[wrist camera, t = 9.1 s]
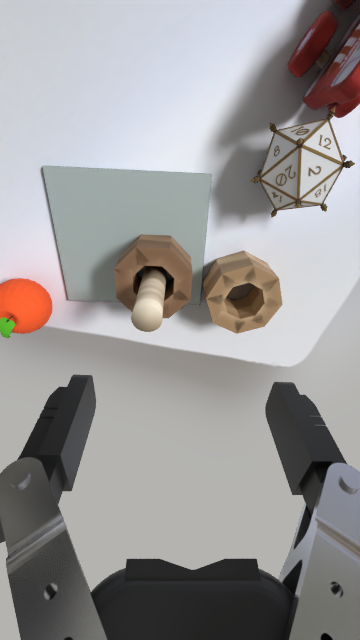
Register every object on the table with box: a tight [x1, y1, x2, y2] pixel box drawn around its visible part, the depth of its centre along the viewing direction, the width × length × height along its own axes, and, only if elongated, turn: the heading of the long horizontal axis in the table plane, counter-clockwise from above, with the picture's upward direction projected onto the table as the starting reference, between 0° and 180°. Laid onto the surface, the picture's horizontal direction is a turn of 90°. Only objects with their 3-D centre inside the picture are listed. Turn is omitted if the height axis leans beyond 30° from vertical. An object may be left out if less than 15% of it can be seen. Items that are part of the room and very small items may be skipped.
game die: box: [251, 107, 355, 218], centre depth 26 cm, size 9×8×10 cm
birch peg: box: [131, 266, 167, 332], centre depth 30 cm, size 3×3×12 cm
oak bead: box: [203, 251, 282, 333], centre depth 35 cm, size 9×9×5 cm
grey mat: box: [42, 166, 212, 305], centre depth 33 cm, size 16×18×1 cm
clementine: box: [0, 279, 52, 338], centre depth 34 cm, size 8×7×7 cm
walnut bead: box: [114, 234, 193, 318], centre depth 33 cm, size 9×9×5 cm
